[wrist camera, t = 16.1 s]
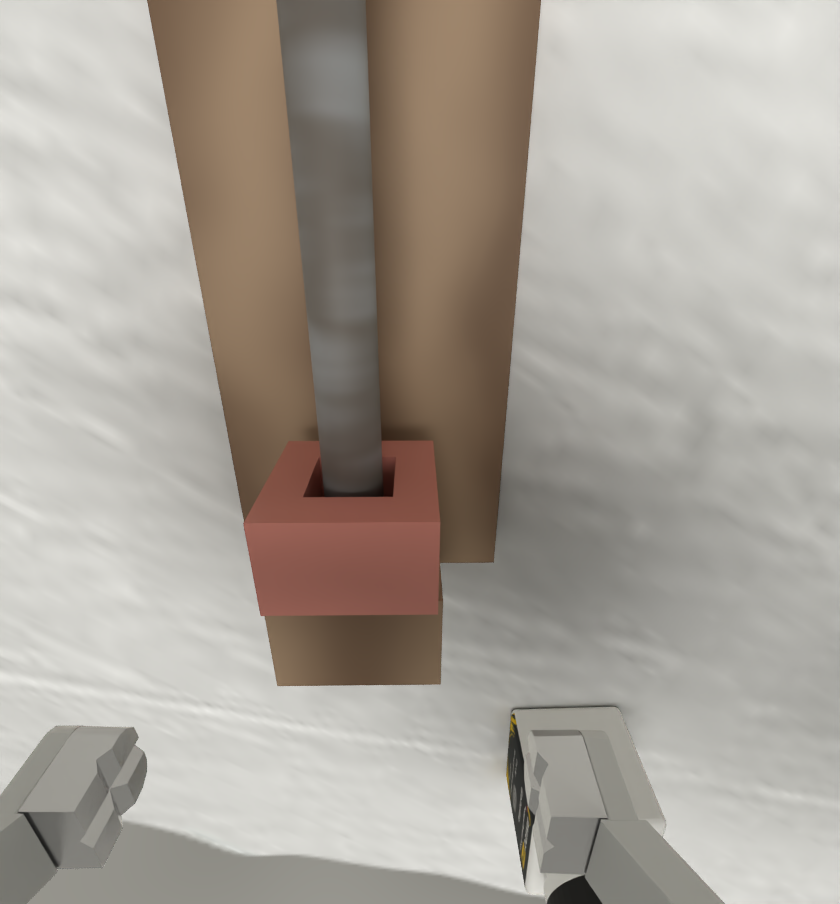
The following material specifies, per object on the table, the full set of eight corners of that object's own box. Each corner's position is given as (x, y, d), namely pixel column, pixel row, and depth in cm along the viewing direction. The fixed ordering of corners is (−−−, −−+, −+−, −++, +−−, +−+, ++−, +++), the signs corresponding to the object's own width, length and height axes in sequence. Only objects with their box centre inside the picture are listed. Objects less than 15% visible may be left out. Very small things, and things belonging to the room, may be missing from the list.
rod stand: (558, -385, 13) (795, -1363, 5) (488, 538, 26) (521, 683, 18) (105, -393, 13) (-412, -1411, 5) (263, 539, 26) (195, 686, 18)
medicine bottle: (510, 707, 32) (559, 955, 21) (618, 703, 32) (723, 951, 21) (505, 773, 35) (545, 1019, 24) (604, 770, 35) (688, 1015, 24)
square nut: (433, 440, 19) (440, 522, 14) (432, 516, 21) (438, 614, 15) (288, 440, 19) (243, 523, 14) (298, 516, 20) (260, 615, 15)
